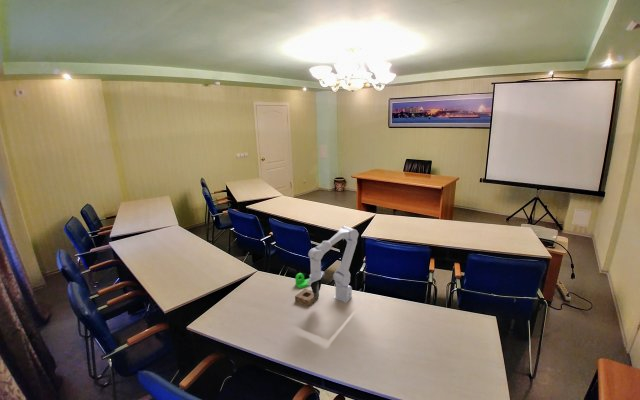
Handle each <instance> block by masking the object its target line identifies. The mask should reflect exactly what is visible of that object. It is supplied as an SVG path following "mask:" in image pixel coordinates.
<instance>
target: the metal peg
mask: <svg viewBox="0 0 640 400" xmlns="http://www.w3.org/2000/svg"><path fill="white" fill-rule="evenodd" d="M315 282H316V283H318V286H317V292H316V294H315V293H314V297H315V298H317V297H318V298H320V290H319V281H315Z"/></svg>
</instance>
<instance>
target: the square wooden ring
mask: <svg viewBox="0 0 640 400" xmlns="http://www.w3.org/2000/svg"><path fill="white" fill-rule="evenodd" d="M318 299H319V297H317V298H315V297H314V293H313V292H312V289H311V290H310V289H307V288H303V290H300V292H298V293H297V294H296V295H295V296H294V301H295V302H296V303H299V304H301V305H303V306H307V307H310V306H311V305H313V304H314V303H315V302H316V301H317V300H318Z"/></svg>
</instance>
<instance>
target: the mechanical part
mask: <svg viewBox="0 0 640 400" xmlns="http://www.w3.org/2000/svg"><path fill="white" fill-rule="evenodd" d="M308 280H309V278H306V279H305V274H303V273H301V272H299V273H296V275H295V286H297V288H298V289H305V288H307V287H311V286H310V285H307V281H308Z"/></svg>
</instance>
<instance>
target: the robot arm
mask: <svg viewBox="0 0 640 400" xmlns="http://www.w3.org/2000/svg"><path fill="white" fill-rule="evenodd" d="M359 235H360V233H359V232H358V230H357V229H355V228H352V227H350V226H347V225H342V227H340V228H339V229H338V232H336V233H335V234H334V235H333V236H331V238H330V239H328V240H322V242H320V243H319V244H318V245H316V246H315V247H313V248H312V247H311V249H310V250H309V251H308V253H307V255H308V257H309V261H310V262H309V263H310V274H309V275H308V276H309V278H308V279H309V280H308V281H307V285H310V286H309V287H310V288H311V291H312V292H313V293H315V294H316V292H317V286H318V283H316V282H315V281H319V291H321V286H322V283H323V281H324V277H323V276H325V271H322V261H321V260H322V259H323V257H324V255H325V254H326V253H327V252H329V251H330V250H331V249H332V247H333V246H334V245H335V244H336V243H338V242H339V241H341V240H342V239H343V240H345V241H346V247H345V250H344V252H343V256H342V259H341V262H340V265H339V267H337V268H336V270H335V271H334V273H333V275H332V280H334V283H335V295H334V296H333V297H332V298H333V299H334V300H335V299H336V300H339V301H341V302H344V303H348V302H349V300H350V299H352V297H353V287H352V286H351V285H349V284H350V283H351V273H350V267H351V264H352V260H353V256H354V253H355V250H356V246H357V244H358V238H359Z"/></svg>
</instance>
